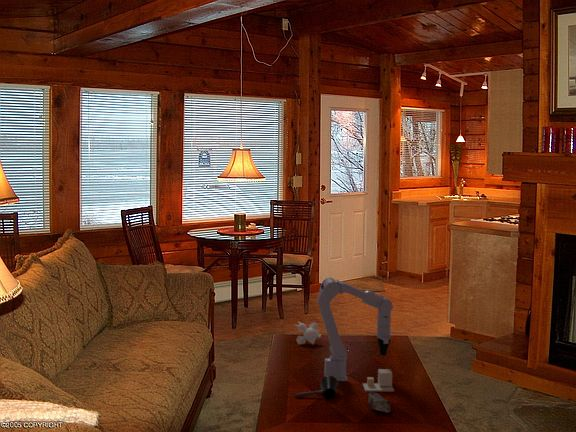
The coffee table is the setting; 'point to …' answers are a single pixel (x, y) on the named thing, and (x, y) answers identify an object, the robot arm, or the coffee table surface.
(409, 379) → the coffee table surface
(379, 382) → the beige block
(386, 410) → the mineral rock
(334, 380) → the coffee pot
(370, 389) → the grey board
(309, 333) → the character figurine
